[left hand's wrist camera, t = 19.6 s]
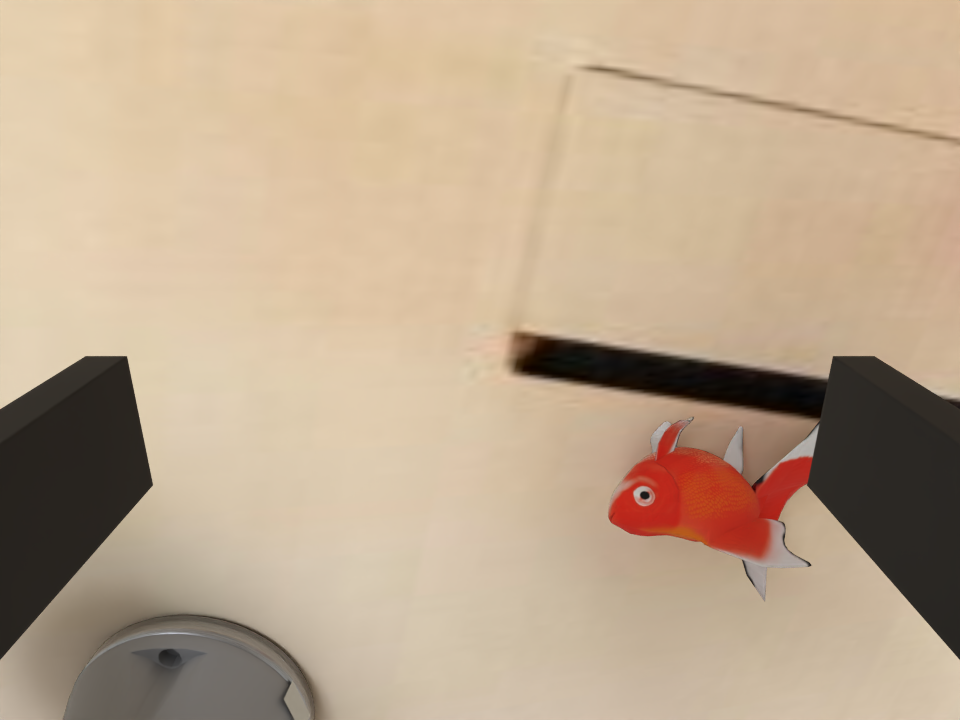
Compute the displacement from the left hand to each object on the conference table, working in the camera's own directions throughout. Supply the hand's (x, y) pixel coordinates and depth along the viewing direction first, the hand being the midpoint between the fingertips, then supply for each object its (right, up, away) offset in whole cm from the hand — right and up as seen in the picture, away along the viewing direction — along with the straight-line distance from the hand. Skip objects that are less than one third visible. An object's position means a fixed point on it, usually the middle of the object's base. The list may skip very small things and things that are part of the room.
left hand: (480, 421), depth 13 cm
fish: (+14, -4, +26) cm, 29 cm away
